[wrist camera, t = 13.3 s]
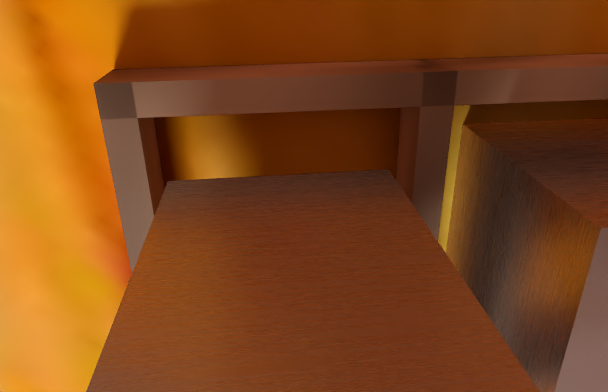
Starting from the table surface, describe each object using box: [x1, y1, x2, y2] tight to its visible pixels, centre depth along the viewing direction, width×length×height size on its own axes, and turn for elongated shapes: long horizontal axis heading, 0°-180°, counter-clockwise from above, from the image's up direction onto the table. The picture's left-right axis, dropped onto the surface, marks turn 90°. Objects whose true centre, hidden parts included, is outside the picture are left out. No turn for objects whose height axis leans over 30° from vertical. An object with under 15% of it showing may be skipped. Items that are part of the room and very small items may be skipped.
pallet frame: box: [94, 53, 608, 273], centre depth 14 cm, size 15×11×2 cm
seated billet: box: [446, 118, 608, 392], centre depth 12 cm, size 4×7×6 cm, turn 1°
